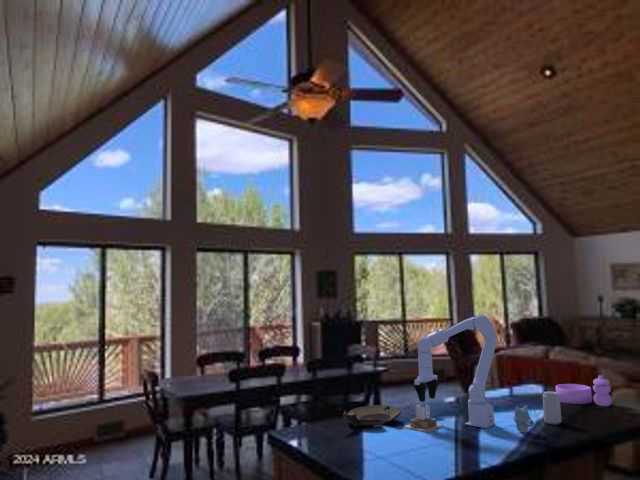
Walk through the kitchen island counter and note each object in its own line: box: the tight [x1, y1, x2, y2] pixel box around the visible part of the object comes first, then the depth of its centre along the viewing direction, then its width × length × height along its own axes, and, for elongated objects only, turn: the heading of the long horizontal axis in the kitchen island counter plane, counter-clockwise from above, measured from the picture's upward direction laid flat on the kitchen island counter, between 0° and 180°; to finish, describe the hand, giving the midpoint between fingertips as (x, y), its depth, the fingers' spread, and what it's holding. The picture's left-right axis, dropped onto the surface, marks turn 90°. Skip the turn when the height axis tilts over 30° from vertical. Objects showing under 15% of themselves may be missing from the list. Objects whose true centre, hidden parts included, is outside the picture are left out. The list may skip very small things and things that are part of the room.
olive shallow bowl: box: [342, 404, 402, 427], centre depth 223 cm, size 22×30×8 cm
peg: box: [415, 403, 431, 422], centre depth 215 cm, size 4×4×8 cm
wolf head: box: [513, 404, 535, 434], centre depth 202 cm, size 6×9×10 cm
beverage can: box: [542, 390, 562, 425], centre depth 215 cm, size 6×6×12 cm
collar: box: [404, 417, 444, 433], centre depth 215 cm, size 11×11×3 cm
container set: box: [555, 374, 613, 407], centre depth 250 cm, size 25×15×13 cm, turn 36°
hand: (427, 399), depth 222 cm, fingers open, 7 cm apart
